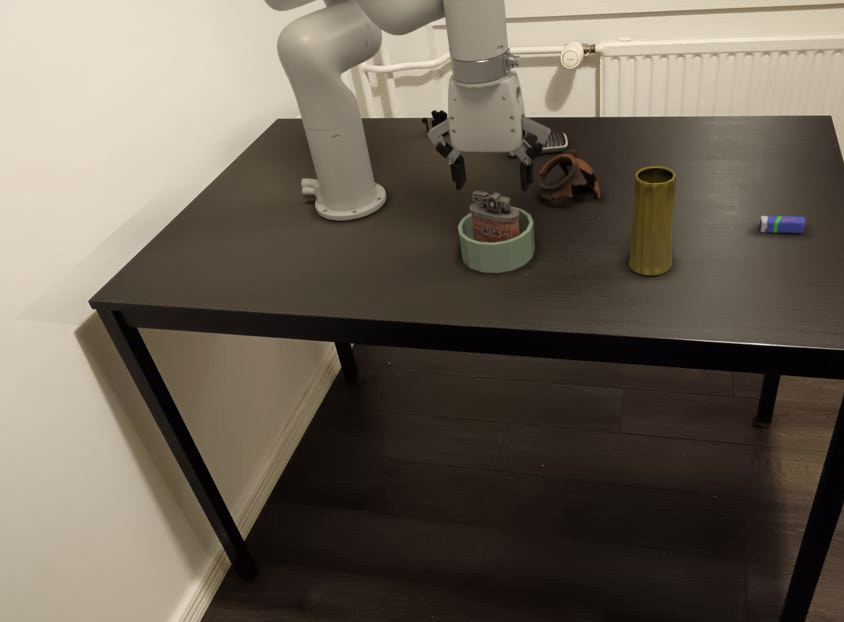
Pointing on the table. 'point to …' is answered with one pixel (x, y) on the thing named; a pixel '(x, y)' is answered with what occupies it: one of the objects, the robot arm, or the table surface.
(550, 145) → the cell phone
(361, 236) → the table surface
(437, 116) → the wireless earbuds
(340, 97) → the robot arm
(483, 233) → the lighter
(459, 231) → the pale green hollow ring
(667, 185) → the vase
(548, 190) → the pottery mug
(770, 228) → the eraser
